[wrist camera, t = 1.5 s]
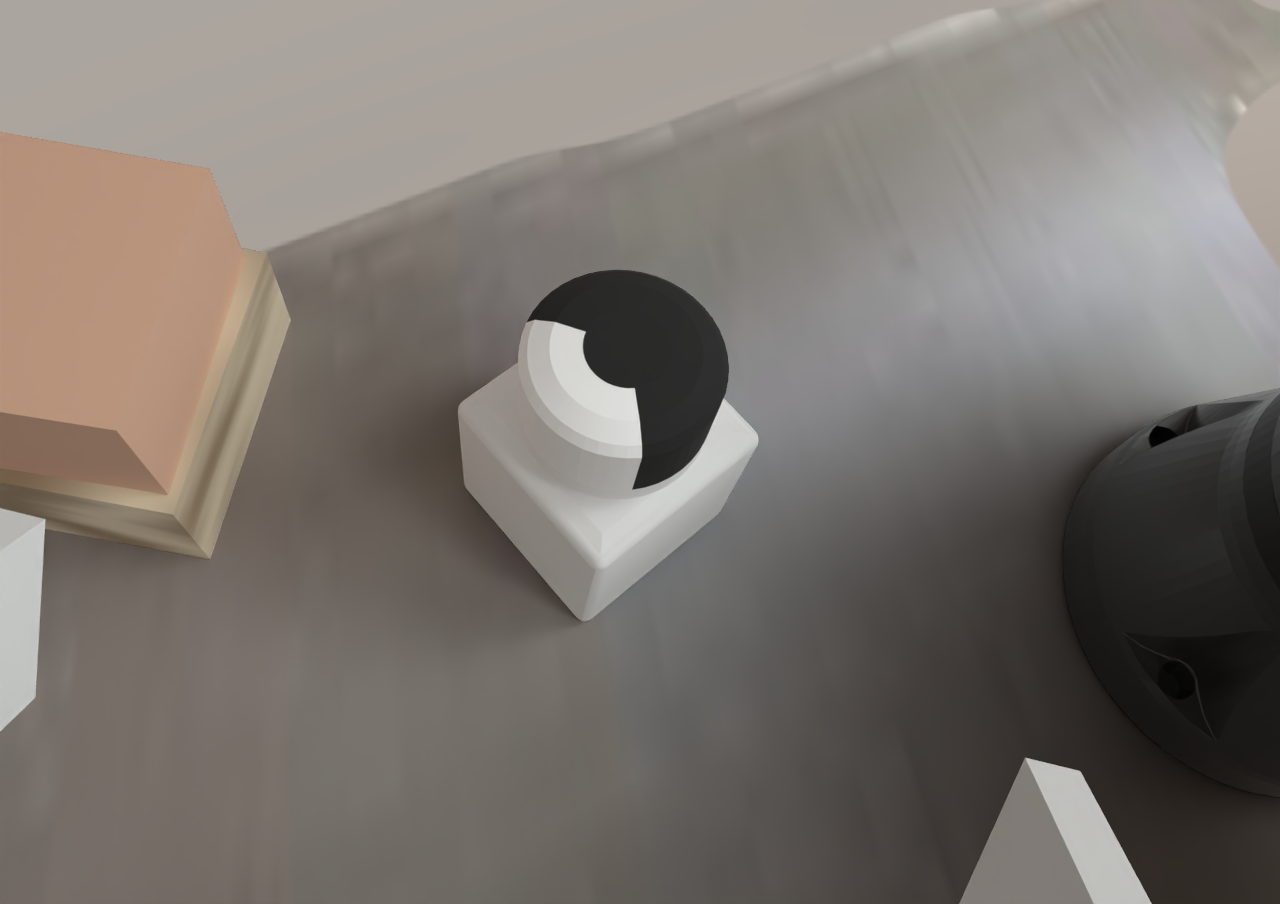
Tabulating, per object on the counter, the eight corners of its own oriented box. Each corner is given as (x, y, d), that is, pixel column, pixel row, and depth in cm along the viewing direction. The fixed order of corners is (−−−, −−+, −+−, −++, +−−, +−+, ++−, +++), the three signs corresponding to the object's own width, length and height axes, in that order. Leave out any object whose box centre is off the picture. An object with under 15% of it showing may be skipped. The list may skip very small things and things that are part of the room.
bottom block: (291, 323, 42) (266, 252, 38) (211, 561, 38) (172, 514, 34) (37, 273, 42) (-19, 195, 37) (-71, 509, 38) (-149, 454, 33)
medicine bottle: (603, 380, 43) (638, 198, 32) (724, 510, 41) (804, 367, 30) (460, 484, 40) (445, 327, 29) (582, 627, 39) (614, 518, 28)
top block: (245, 258, 38) (209, 168, 33) (168, 494, 34) (116, 430, 30) (-16, 214, 37) (-89, 116, 33) (-123, 449, 34) (-221, 376, 29)
